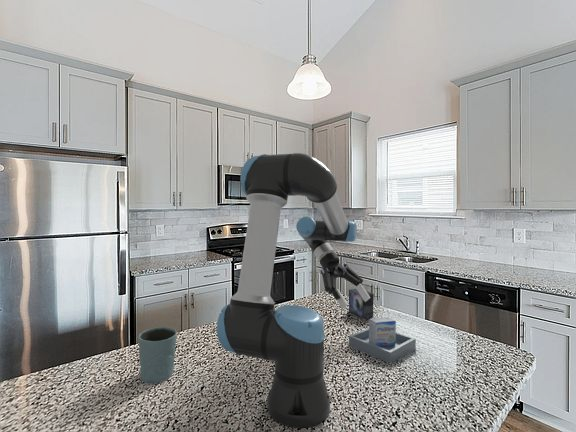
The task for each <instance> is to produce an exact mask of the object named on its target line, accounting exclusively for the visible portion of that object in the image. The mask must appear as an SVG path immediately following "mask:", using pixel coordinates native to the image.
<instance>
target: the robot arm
mask: <svg viewBox="0 0 576 432" xmlns="http://www.w3.org/2000/svg"><path fill="white" fill-rule="evenodd" d="M240 183H241V184H240V187H241V191H242V192H243V193H244V194H245V195H246V198H245V199H246V200H247V202H248V203H249V206H250V207H249V212H248V220H247V225H246V226H247V227H246V233H245V240H244V247H243V254H242V261H241V267H240V273H239V278H238V279H239V280H238V287H237V291H236V292H235V294H233V295H232V296H231V297H230V301H229V303H228V304H226V305H225V306H223V307H222V309H221V310H220V313H218V318H217V323H216V333H217V334H216V335H217V339H218V342H219V344H220V346H221V347H222V349H224V350H225V351H227V352H228V353H229V352H230V353H233V354H235V355H238V356H247V357H250V358H255V359H259V360H260V359H261V360H265V361H269V362H274V376H273V380H272V383H271V386H270V389H269V391H268V394H267V400H266V401H267V411H268V415H269V416H270V417H271V418H272V419H273V420H275V421H276V422H278V423H280V424H281V425H283V426H286V427H291V428H298V429H299V428H309V427H313V426H316V425H319V424H320V423H322V422H324V421H325V420H326V419H327V418H328V416H329V414H330V411H331V398H330V395H329V392H328V389H327V383H326V382H325V379H324V353H325V351H324V348H325V347H324V346H325V332H324V329H325V328H324V321H323V317H322V316H321V315H320V314H319V313H318V312H317V311H315V310H314V309H312V308H309V307H307V306H302V305H297V304H292V305H290V304H285V305H281V306H279V307H277V308H276V310H275V304H276V302H275V301H274V299H273V298H272V296H271V290H272V282H273V275H274V267H275V266H274V265H275V258H276V251H277V243H278V235H279V225H280V219H281V211H282V208H284V207H286V205H287V204H288V198H289V197H290V196H295V197H296V196H302V197H306V198H307V200H309V201H310V202H311V203H313V204H314V206H315V209H316V210H317V212H318V213H319V215H320V216H321V219H322V220H314V219H313V218H312V217H311V216H302V217H300V218H299V219H298V220H297V222H296V227H295V228H296V231H297V233H298V235H299V236H300V237H301V238H302V239H303V240H304V241H305V242H306V244H307V245H308V246H309V248H310V250H311V251H312V253H313V254H314V255H315V258H316V260H317V261H318V262H319V265H320V266H321V269H320V270H319V271H320V274H321V275H322V281H323V285H324V291H325V292H326V293H328V294H329V295H332V296H333V297H334V299H335V300H336V301H337V303H338V304H339V306H340V307H341V309H345V308H346V307H347V306H349V303H348V302H347V301H346V299H345V297H344V296H343V294H342V293H341V291H340V289H339V288H337V278H341V279H345V280H346V281H348V282H350V283H351V285H354V286H355V289H357V291H358V292H359V294H360V295H361V297H362V298H363V300H364V301H365V302H366V301H367V300H368V299H370V296H369V295H368V293H367V292H366V291H367V290H366V288H365V287H364V285H363V282H364V279H363V278H362V277H361V276H359V274H357V273H356V272H355V271H354V270H353V269H351V268H350V267H349V265H348V264H347V263H346V262H345V263H344V264H341V263H340V260H341V259H340V257H339V256H338V255H337V253H336V252H335V250H334V248H333V247H332V246H331V244H330V243H329V242H345V243H348V242H351V243H352V242H354V241H356V240H357V232H358V231H357V230H358V226H357V223H356V222H354V221H350V220H348V219H347V217H346V213H345V212H344V208H343V206H342V204H341V200H340V198H339V196H338V194H337V190H338V185H337V181H336V178H335V176H334V175H333V173H332V172H331V171H330V169H329V168H328V167H327V166H326V165H325V164H324V163H322V162H321V161H319V160H318V158H317V159H316V158H315V157H314V156H311V155H309V154H306V153H300V152H295V153H282V154H281V153H279V154H268V153H267V154H266V153H265V154H260V155H254V156H251V157H250V158H248V159H247V160H246V161H245V162H244V164H243V166H242V168H241V172H240Z"/></svg>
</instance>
